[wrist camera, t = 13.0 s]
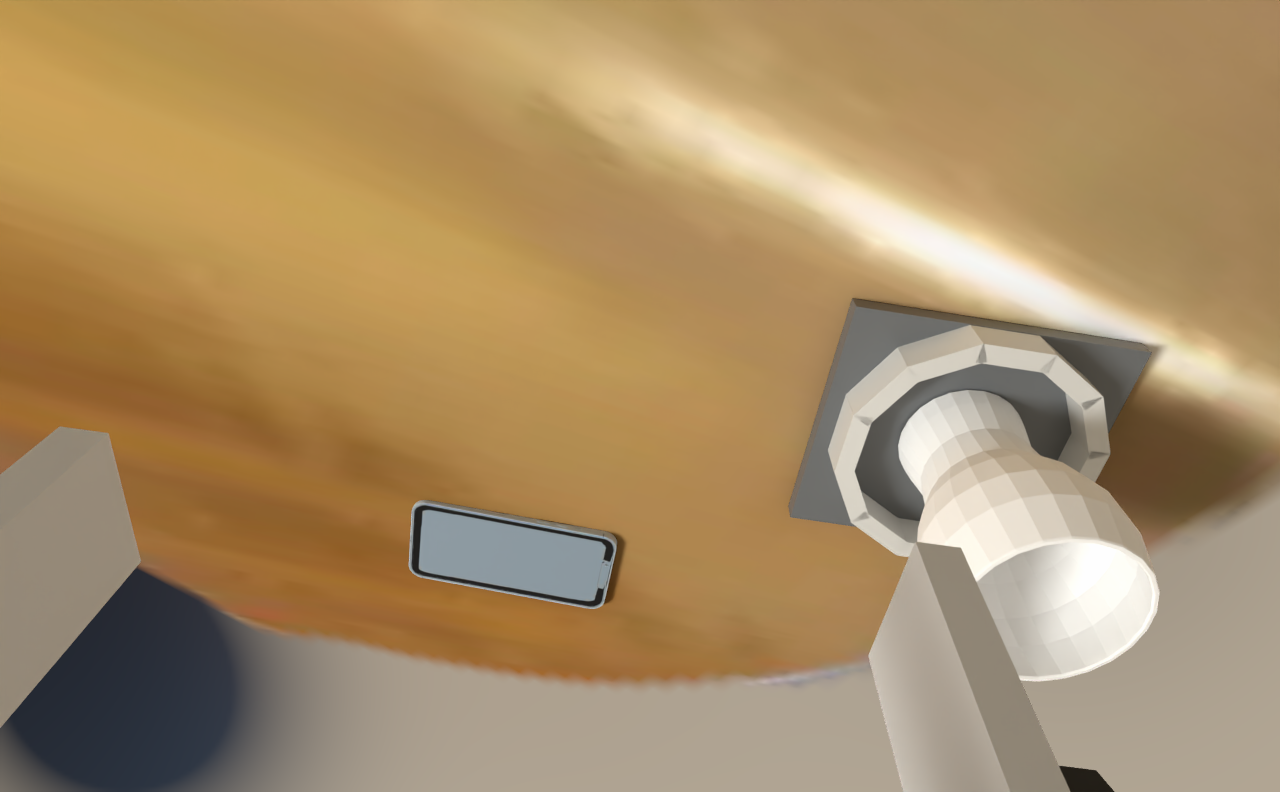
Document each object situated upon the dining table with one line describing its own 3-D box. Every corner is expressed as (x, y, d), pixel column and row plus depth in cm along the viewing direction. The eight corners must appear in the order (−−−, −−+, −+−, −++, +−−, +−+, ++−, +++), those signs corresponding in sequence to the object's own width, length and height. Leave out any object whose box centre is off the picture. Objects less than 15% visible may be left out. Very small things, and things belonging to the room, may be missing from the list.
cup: (1080, 435, 50) (1219, 609, 37) (946, 532, 55) (1029, 718, 42) (973, 336, 47) (1084, 488, 34) (840, 446, 52) (894, 619, 39)
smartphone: (412, 499, 57) (618, 538, 57) (416, 491, 57) (620, 530, 58) (408, 575, 60) (602, 611, 61) (412, 566, 61) (603, 602, 62)
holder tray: (852, 298, 48) (864, 324, 44) (1141, 343, 48) (1174, 372, 45) (788, 506, 56) (794, 541, 53) (1037, 542, 56) (1058, 579, 53)
